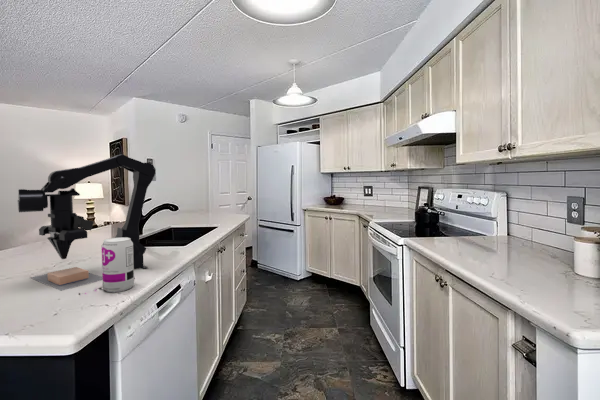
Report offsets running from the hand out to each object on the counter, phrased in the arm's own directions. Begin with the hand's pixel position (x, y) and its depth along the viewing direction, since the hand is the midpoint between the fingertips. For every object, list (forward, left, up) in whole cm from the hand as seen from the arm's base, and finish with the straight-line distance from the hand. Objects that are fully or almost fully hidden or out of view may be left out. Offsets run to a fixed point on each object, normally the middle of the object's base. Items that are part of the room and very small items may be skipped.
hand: (63, 258), depth 101 cm
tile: (+1, 0, -5) cm, 5 cm away
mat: (0, -1, -8) cm, 8 cm away
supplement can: (-20, -6, -8) cm, 22 cm away
